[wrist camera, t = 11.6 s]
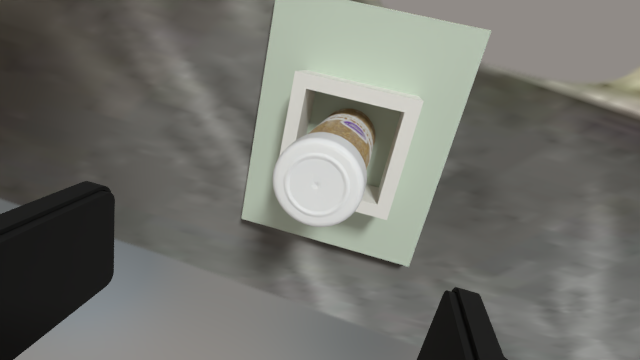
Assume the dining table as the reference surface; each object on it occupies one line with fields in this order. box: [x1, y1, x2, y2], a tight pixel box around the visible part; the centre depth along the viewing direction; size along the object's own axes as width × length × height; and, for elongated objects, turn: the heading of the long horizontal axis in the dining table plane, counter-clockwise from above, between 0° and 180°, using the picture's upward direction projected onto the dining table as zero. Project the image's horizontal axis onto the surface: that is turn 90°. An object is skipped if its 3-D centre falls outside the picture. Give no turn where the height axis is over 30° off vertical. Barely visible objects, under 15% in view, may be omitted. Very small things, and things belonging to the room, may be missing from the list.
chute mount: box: [241, 0, 491, 267], centre depth 28 cm, size 20×16×6 cm
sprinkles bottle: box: [273, 109, 375, 227], centre depth 23 cm, size 5×5×14 cm
